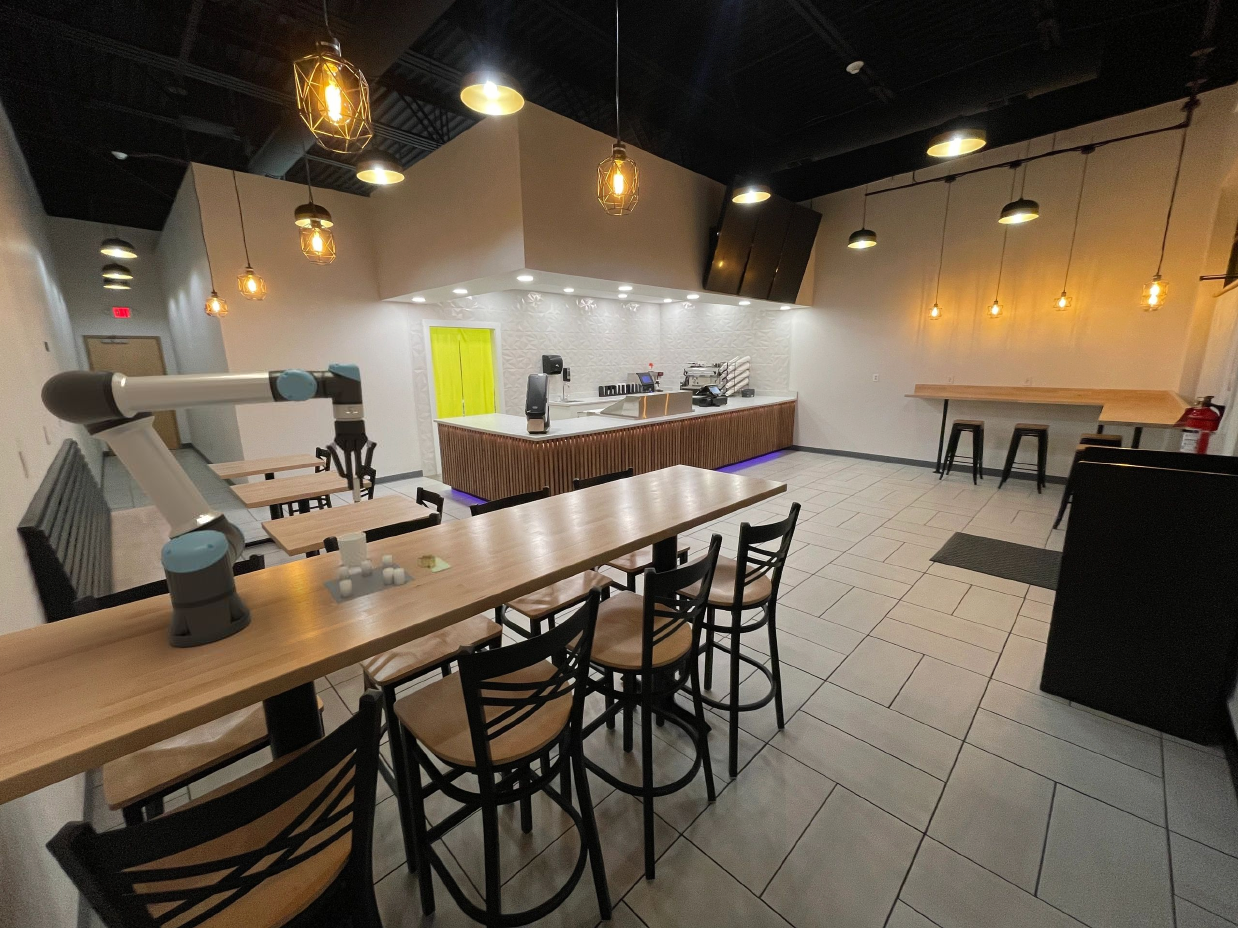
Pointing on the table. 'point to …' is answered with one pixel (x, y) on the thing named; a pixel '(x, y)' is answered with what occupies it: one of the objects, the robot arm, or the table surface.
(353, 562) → the white cup
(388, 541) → the table surface
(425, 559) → the nut
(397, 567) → the spacer board
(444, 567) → the mat
